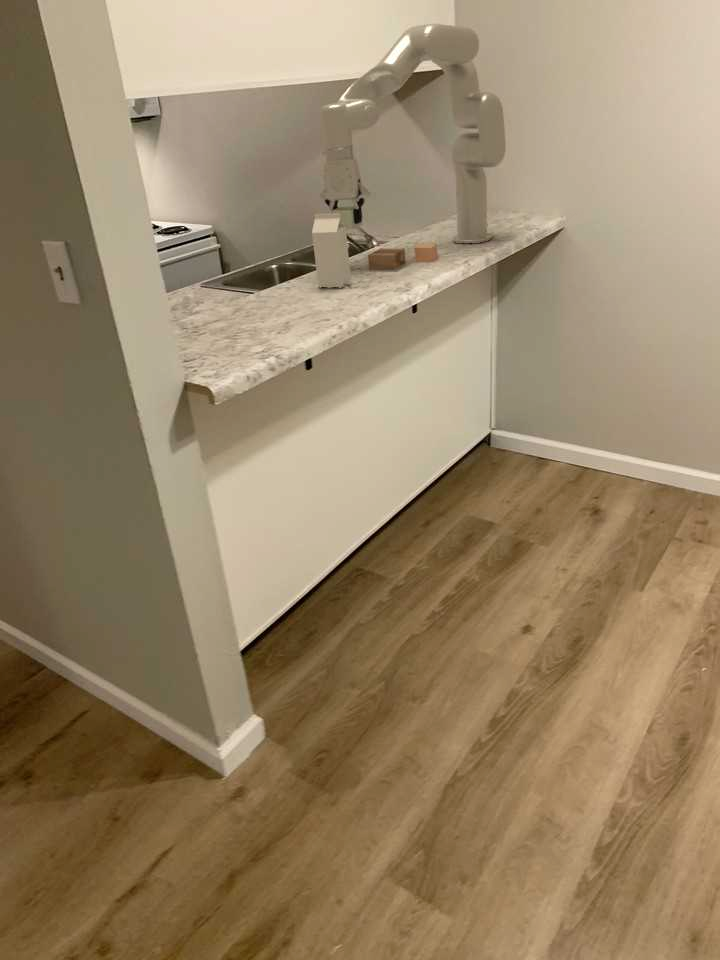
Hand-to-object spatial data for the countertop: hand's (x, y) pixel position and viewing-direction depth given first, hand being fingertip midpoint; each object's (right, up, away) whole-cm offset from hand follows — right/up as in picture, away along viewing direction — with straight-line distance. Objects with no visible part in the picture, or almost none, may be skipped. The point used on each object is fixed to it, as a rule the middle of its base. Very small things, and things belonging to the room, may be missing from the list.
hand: (347, 222), depth 208 cm
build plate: (+12, -11, +7) cm, 18 cm away
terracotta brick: (+23, -9, +9) cm, 26 cm away
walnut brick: (+11, -10, +7) cm, 17 cm away
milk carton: (-3, -19, -4) cm, 20 cm away
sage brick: (0, -1, +1) cm, 1 cm away
